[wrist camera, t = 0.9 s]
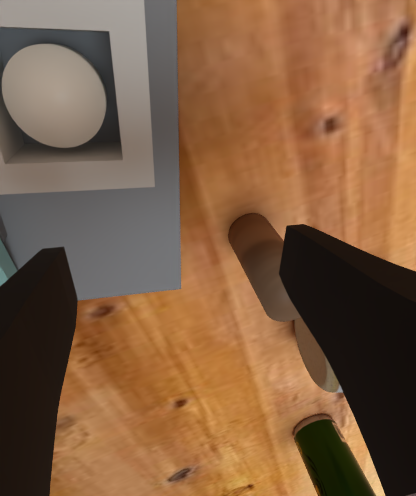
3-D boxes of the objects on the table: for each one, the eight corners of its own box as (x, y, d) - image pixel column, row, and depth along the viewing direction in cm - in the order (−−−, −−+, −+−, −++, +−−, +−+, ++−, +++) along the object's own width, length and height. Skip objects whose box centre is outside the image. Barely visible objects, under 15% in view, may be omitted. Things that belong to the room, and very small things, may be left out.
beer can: (319, 407, 38) (389, 539, 28) (340, 420, 40) (410, 544, 30) (283, 432, 39) (337, 566, 29) (306, 442, 42) (362, 568, 32)
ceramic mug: (288, 283, 26) (341, 364, 20) (382, 259, 27) (462, 329, 20) (287, 364, 32) (327, 445, 26) (364, 342, 33) (421, 415, 27)
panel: (178, 275, 23) (188, 320, 19) (-82, 302, 20) (-129, 362, 16) (170, -73, 13) (187, -116, 10) (-335, -127, 10) (-590, -220, 7)
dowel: (266, 249, 24) (312, 317, 18) (226, 253, 23) (261, 324, 17) (272, 212, 22) (325, 273, 16) (229, 215, 21) (268, 280, 16)
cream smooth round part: (112, 137, 15) (110, 146, 14) (26, 139, 14) (17, 148, 13) (100, 45, 13) (98, 45, 12) (1, 41, 12) (-13, 41, 11)
